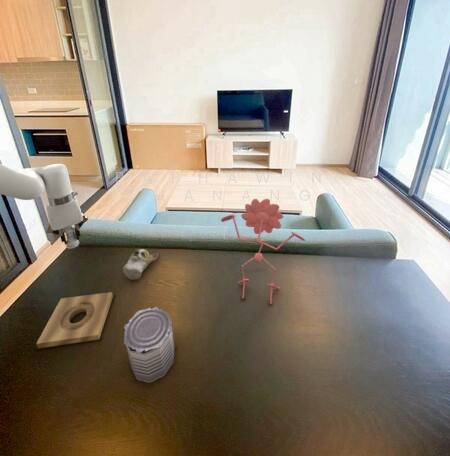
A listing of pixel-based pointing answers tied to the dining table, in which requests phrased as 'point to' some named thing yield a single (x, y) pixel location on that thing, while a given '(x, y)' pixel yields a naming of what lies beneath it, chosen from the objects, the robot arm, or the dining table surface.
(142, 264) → the ceramic sculpture
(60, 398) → the dining table surface
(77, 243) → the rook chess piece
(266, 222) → the figurine
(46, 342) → the wooden board with hole
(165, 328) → the can
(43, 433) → the dining table surface
